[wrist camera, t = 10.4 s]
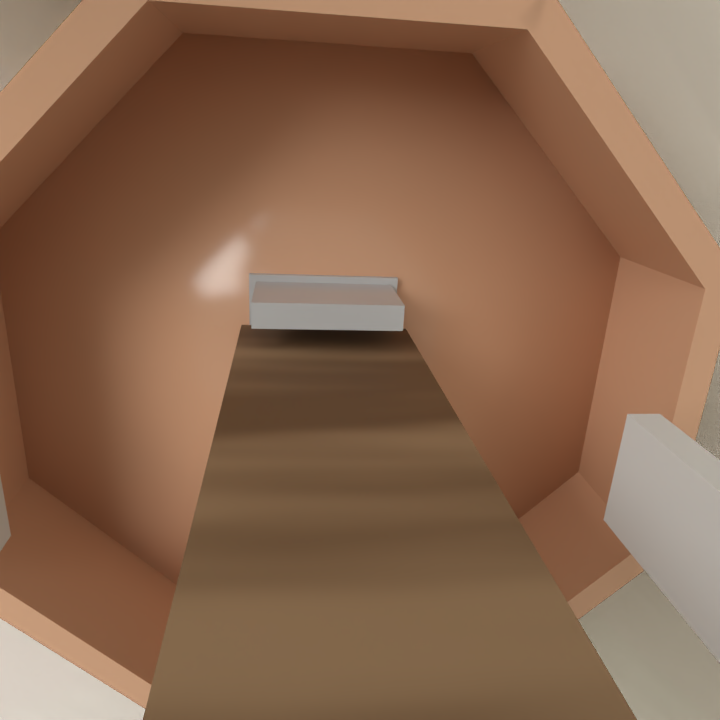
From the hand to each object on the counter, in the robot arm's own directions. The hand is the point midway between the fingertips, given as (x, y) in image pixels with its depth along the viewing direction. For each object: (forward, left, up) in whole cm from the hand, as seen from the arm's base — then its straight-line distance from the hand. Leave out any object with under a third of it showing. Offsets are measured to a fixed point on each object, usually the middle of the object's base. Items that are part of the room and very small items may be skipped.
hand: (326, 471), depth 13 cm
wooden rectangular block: (0, 0, -7) cm, 7 cm away
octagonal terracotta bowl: (0, 0, -8) cm, 8 cm away
